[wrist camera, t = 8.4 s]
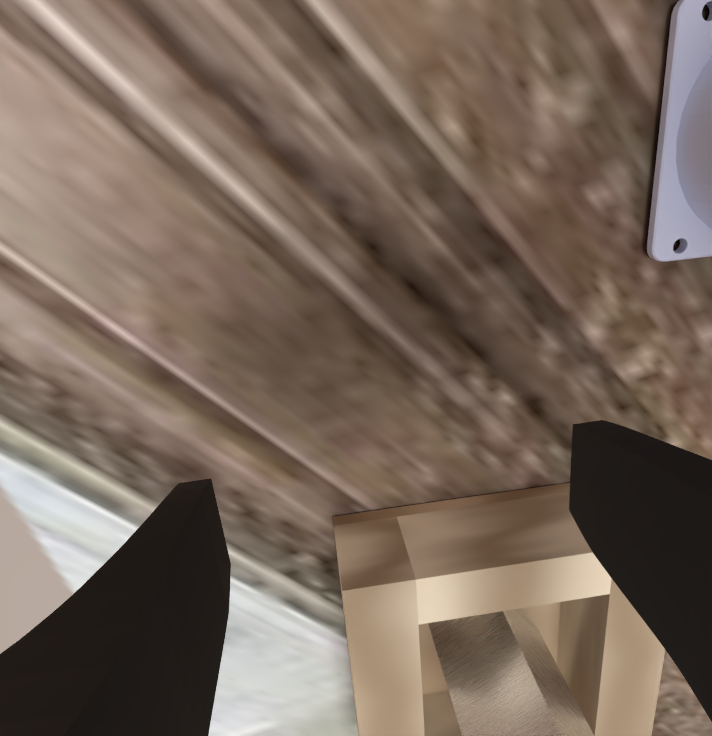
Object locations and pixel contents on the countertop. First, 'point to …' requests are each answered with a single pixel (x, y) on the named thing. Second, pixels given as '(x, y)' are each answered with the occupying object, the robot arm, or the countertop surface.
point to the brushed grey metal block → (505, 678)
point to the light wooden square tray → (486, 608)
